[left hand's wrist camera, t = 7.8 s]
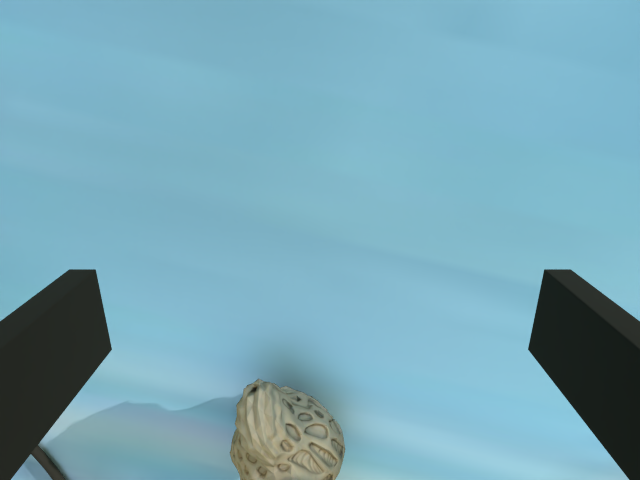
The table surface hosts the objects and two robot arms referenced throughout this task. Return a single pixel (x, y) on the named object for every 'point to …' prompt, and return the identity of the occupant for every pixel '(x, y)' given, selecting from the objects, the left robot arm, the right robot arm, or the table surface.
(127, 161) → the table surface
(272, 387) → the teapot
